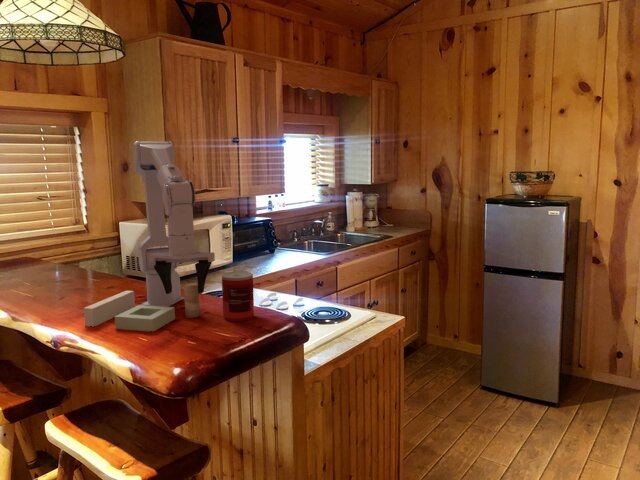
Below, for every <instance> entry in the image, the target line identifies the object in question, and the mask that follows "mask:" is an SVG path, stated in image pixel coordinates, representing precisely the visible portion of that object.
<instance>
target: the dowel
mask: <svg viewBox="0 0 640 480" xmlns="http://www.w3.org/2000/svg"><path fill="white" fill-rule="evenodd" d="M183 293H184V312H185V313H184V314H185V318H188V319H194V317H195V318H198V316H199V317H200V316H201V310H200V309H201V308H200V307H201V306H200V294H198V283H187V284H186V283H185V284H184V285H183Z"/></svg>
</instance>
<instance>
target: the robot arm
mask: <svg viewBox="0 0 640 480" xmlns="http://www.w3.org/2000/svg"><path fill="white" fill-rule="evenodd" d="M132 158H133V159H132V161H133V168H134V171H135V174H136V175H137V174H138V175H139V176H141V178H142V182H143V187H144V188H143V190H144V200H145V210H146V211H145V212H146V222H147V223H146V225H147V234H148V236H147V237H146V238H144V239H143V240H142V241H141V242H140V243H139V246H138V264H139V265H138V266H139V269H140V271H142V273H145V282H146V295H147V296H146V297H147V298H146V299H147V301H144V302H143V303H141V304H140V305H147V306H162V307H172V305H174V304H176V303H178V302H180V301H182V300H185V298H184V297H183V296H182V295H181V294H182V293H181V278H180V275H179V273H178V271H176V269H178V267H179V266H180V265H179V264H180V263H195V262H197V263H195V264H194V267H195V271H196V279H197V284H198V294H199V295H200V294H202V293H203V294H204V292H205V285H206V279H207V276H208V274H209V273H208V272H209V270H210V268H211V265H212V263H214V261H216V258H215V252H213V251H212V252H211V251H210V252H207V251H204V252H203V251H196V248H195V247H196V246H195V245H196V244H195V243H196V242H195V230H194V228H195V227H194V226H195V225H194V215H193V212H194V211H193V207H194V206H195V205H196V204H195V203H196V189H195V186H194V183H193V181H192V180H187V179H186V178H185V177H184V175H183V173H182V171H181V169H180V168H179V167H178V166H177V165H175V161H176V160H175V159H176V149H175V145H174V144H173V142H172V141H171V140H168V141H139V140H136V141H135V142H134V143H133V145H132ZM165 216H166V218H165ZM166 220H167V230H166ZM167 234H168V235H167ZM155 247H156V248H155Z"/></svg>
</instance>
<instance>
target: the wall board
mask: <svg viewBox="0 0 640 480" xmlns="http://www.w3.org/2000/svg"><path fill="white" fill-rule="evenodd" d="M134 307H136V304H135V290H134V291H133V290H124V291H122V292H120V293H117V294H115V295H113V296H109V297H107V298H105V299H102V300H100V301H98V302H95V303H92V304H90V305H87V306H85V307H84V308H83V317H84V326H85V327H90V326H92V327H91V328H93V327H94V326H95V327H96V326H98V325H101V324H103V323H105V322H107V321H109V320H111V319H114V318H115V316H117V315H119V314H121V313H123V312H125V311H127V310H129V309H132V308H134ZM113 317H114V318H113ZM95 327H94V328H95Z"/></svg>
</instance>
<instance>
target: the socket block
mask: <svg viewBox="0 0 640 480" xmlns="http://www.w3.org/2000/svg"><path fill="white" fill-rule="evenodd" d="M174 320H176V314H175V306H169V307H162V306H147V305H141V304H138V305H135V307H134V308H132V309H129V310H127V311H125V312H123V313H121V314H119V315H117V316H115V317H114V324H115V330H128V331H129V330H130V331H138V332H139V331H140V332H150V331H152V332H153V331H154V332H155V331H157V330H159V329H160V328H162V327H164V326H166V325H167V324H169V323H171V322H172V321H174ZM165 324H166V325H165Z"/></svg>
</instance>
